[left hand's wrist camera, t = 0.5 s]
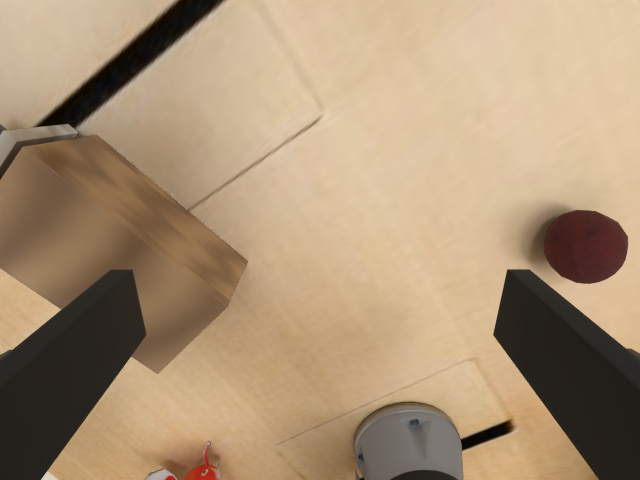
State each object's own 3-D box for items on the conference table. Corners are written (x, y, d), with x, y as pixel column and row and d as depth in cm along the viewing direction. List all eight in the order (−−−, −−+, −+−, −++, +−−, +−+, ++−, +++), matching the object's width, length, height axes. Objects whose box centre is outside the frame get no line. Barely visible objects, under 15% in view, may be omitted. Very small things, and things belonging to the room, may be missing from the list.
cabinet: (43, 208, 40) (-41, 241, 31) (96, 134, 37) (22, 146, 28) (190, 317, 45) (157, 374, 36) (248, 261, 42) (227, 306, 33)
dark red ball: (542, 274, 43) (582, 306, 36) (520, 222, 40) (559, 246, 34) (604, 245, 41) (657, 273, 35) (585, 189, 39) (639, 207, 32)
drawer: (-34, 153, 37) (-123, 167, 29) (12, 78, 34) (-72, 72, 27) (167, 302, 43) (136, 344, 36) (219, 248, 41) (196, 281, 33)
